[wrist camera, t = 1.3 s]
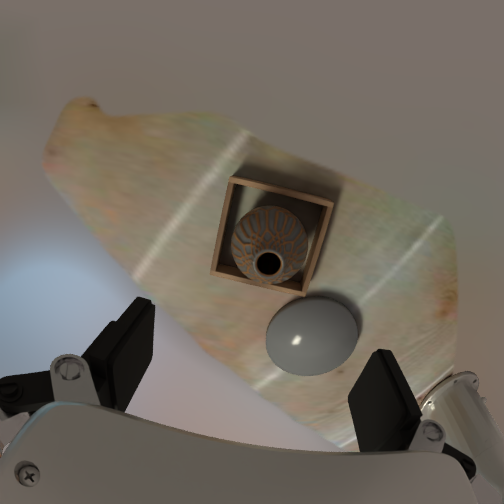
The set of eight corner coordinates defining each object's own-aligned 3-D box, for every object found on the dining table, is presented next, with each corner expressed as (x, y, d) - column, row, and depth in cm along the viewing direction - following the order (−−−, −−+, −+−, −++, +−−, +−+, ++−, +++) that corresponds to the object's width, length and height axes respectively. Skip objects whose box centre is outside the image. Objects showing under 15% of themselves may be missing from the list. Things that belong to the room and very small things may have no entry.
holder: (329, 199, 28) (334, 202, 26) (302, 287, 31) (304, 296, 29) (232, 175, 28) (229, 176, 26) (213, 266, 31) (209, 274, 29)
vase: (301, 197, 28) (312, 214, 20) (305, 262, 31) (316, 301, 22) (232, 204, 29) (216, 223, 21) (240, 267, 31) (229, 307, 23)
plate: (369, 306, 32) (372, 311, 31) (336, 374, 35) (337, 380, 34) (279, 286, 32) (280, 291, 30) (256, 361, 35) (256, 367, 34)
